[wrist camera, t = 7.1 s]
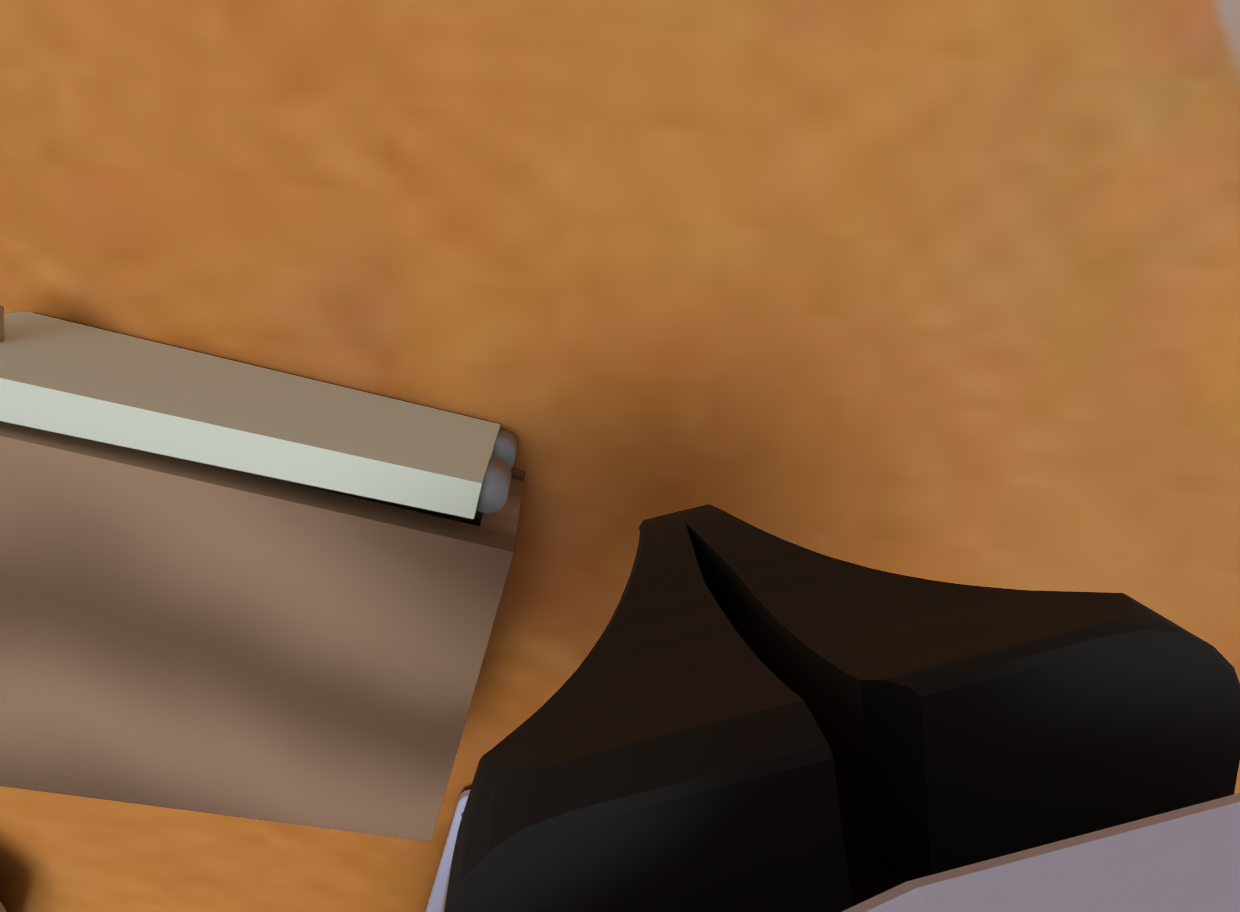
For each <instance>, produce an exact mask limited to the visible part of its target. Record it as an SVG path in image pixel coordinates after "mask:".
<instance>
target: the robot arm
mask: <svg viewBox="0 0 1240 912" xmlns="http://www.w3.org/2000/svg"><path fill="white" fill-rule="evenodd" d="M639 530H640V538H639V545H638V550H637V554H636V558H635V561H634V565H633V568H632V571H631V575H630V577H629V580H628V583H627V585H626V587H625V590H624V592H623V595H622V597H621V600H620V602H619V604H618V606H617V608H616V610H615V612H614V614H613V616H612V618H611V620H610V622H609V624H608V625H607V627H606V629H605V630H604V632H603V634H602V635H601V637H600V639H599V640H598V642H597V643H596V645H595V646H594V647H593V649H592V650H591V652H590V653H589V655H588V656H587V657H586V659H585V660H584V661H583V663H582V664H581V665H580V667H579V668H578V669H577V670H576V671H575V673H574V674H573V675H572V676H571V677H570V678H569V679H568V680H567V681H566V683H565V684H564V685H563V686H562V687H561V688H560V689H559V690H558V691H557V692H556V693H555V694H554V695H553V696H552V697H551V698H550V699H549V700H548V701H547V702H546V703H545V704H544V705H543V706H542V707H541V708H540V709H539V710H538V711H537V712H536V713H534V714H533V715H532V716H531V717H530V718H529V719H528V720H526V721H525V722H524V723H523V724H522V725H520V726H519V727H518V728H517V729H516V730H514V731H513V732H512V733H511V734H510V735H508V736H507V737H506V738H505V739H504V740H502V741H501V742H500V743H499V744H498V745H496V746H495V747H494V748H493V749H491V750H490V751H489V752H487V753H486V754H485V755H483V756H482V757H481V759H480V761H479V764H478V767H477V770H476V773H475V776H474V780H473V783H472V786H471V789H469V790H466V791H464V792H462V793H461V795H460V796H459V799H458V803H457V806H456V810H455V813H454V816H453V820H452V823H451V826H450V830H449V833H448V836H447V840H446V843H445V847H444V850H443V853H442V857H441V860H440V863H439V867H438V870H437V874H436V877H435V880H434V884H433V887H432V890H431V894H430V897H429V901H428V904H427V907H426V911H425V912H1240V793H1238V794H1234V790H1235V784H1236V778H1237V772H1238V766H1239V760H1240V683H1239V680H1238V677H1237V675H1236V672H1235V669H1234V667H1233V666H1232V665H1231V664H1230V663H1229V662H1228V661H1227V660H1226V659H1225V658H1224V657H1223V656H1222V655H1221V654H1220V653H1219V652H1218V651H1217V650H1216V649H1215V648H1214V647H1213V646H1212V645H1210V644H1208V643H1207V642H1205V641H1203V640H1202V639H1200V638H1198V637H1197V636H1195V635H1193V634H1191V633H1190V632H1188V631H1186V630H1185V629H1183V628H1181V627H1180V626H1178V625H1176V624H1175V623H1173V622H1171V621H1169V620H1168V619H1166V618H1164V617H1163V616H1161V615H1159V614H1158V613H1156V612H1154V611H1153V610H1151V609H1149V608H1147V607H1146V606H1144V605H1142V604H1141V603H1139V602H1137V601H1136V600H1134V599H1132V598H1131V597H1129V596H1127V595H1125V594H1123V593H1097V592H1062V591H1027V590H1013V589H1002V588H991V587H981V586H970V585H962V584H954V583H946V582H939V581H932V580H927V579H921V578H916V577H910V576H904V575H899V574H893V573H889V572H884V571H880V570H875V569H871V568H867V567H863V566H860V565H856V564H853V563H849V562H845V561H842V560H838V559H834V558H831V557H828V556H825V555H822V554H819V553H816V552H814V551H811V550H808V549H806V548H803V547H800V546H798V545H795V544H793V543H790V542H788V541H785V540H783V539H780V538H778V537H776V536H773V535H771V534H769V533H767V532H765V531H763V530H760V529H758V528H756V527H754V526H752V525H750V524H748V523H746V522H744V521H742V520H740V519H738V518H736V517H734V516H732V515H730V514H728V513H726V512H724V511H722V510H720V509H718V508H716V507H714V506H712V505H709V504H708V505H704V506H700V507H696V508H691V509H687V510H683V511H679V512H675V513H671V514H667V515H663V516H659V517H655V518H651V519H646V520H644V521H643V522H642V524H641V525H640V526H639Z"/></svg>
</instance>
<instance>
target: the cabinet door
mask: <svg viewBox="0 0 1240 912" xmlns="http://www.w3.org/2000/svg"><path fill="white" fill-rule="evenodd" d="M0 421H3V422H8V423H12V424H17V425H22V426H27V427H32V428H36V429H41V430H46V431H51V432H56V433H61V434H65V435H70V436H75V437H80V438H85V439H89V440H94V441H99V442H104V443H109V444H114V445H118V446H123V447H128V448H133V449H138V450H142V451H147V452H152V453H157V454H162V455H167V456H171V457H176V458H181V459H186V460H191V461H195V462H200V463H205V464H210V465H215V466H220V467H224V468H229V469H234V470H239V471H244V472H248V473H253V474H258V475H263V476H268V477H273V478H277V479H282V480H287V481H292V482H297V483H301V484H306V485H311V486H316V487H321V488H325V489H330V490H335V491H340V492H345V493H350V494H354V495H359V496H364V497H369V498H374V499H378V500H383V501H388V502H393V503H398V504H403V505H407V506H412V507H417V508H422V509H427V510H431V511H436V512H441V513H446V514H451V515H456V516H460V517H465V518H470V519H474V516H475V513H476V510H478V511H480V512H482V513H494V512H497V511H499V510H500V509H501V508H502V507H503V506H504V505H505V503H506V501H507V496H508V491H509V486H510V481H511V468H512V467H513V465H514V460H515V455H516V450H517V439H516V437H515V436H514V435H513V434H512V433H511V432H510V431H508V430H504V429H500V425H501V424H497V423H493V422H489V421H485V420H480V419H476V418H472V417H468V416H464V415H459V414H455V413H451V412H447V411H443V410H438V409H434V408H430V407H426V406H422V405H417V404H413V403H409V402H405V401H401V400H396V399H392V398H388V397H384V396H380V395H375V394H371V393H367V392H363V391H359V390H354V389H350V388H346V387H342V386H338V385H333V384H329V383H325V382H321V381H317V380H312V379H308V378H304V377H300V376H296V375H292V374H287V373H283V372H279V371H275V370H271V369H266V368H262V367H258V366H254V365H250V364H245V363H241V362H237V361H233V360H229V359H224V358H220V357H216V356H212V355H208V354H203V353H199V352H195V351H191V350H187V349H182V348H178V347H174V346H170V345H166V344H161V343H157V342H153V341H149V340H145V339H140V338H136V337H132V336H128V335H124V334H119V333H115V332H111V331H107V330H103V329H98V328H94V327H90V326H86V325H82V324H77V323H73V322H69V321H65V320H61V319H56V318H52V317H48V316H44V315H40V314H35V313H31V312H27V311H23V312H14V313H4V307H3V306H1V305H0ZM499 429H500V430H499Z"/></svg>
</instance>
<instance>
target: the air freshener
mask: <svg viewBox="0 0 1240 912" xmlns="http://www.w3.org/2000/svg"><path fill="white" fill-rule="evenodd" d="M0 912H6V910H5V908H4V906H3V905H2V903H1V902H0Z"/></svg>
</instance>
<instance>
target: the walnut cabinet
mask: <svg viewBox="0 0 1240 912" xmlns="http://www.w3.org/2000/svg"><path fill="white" fill-rule="evenodd" d="M524 475H525V472H524V471H520V470H516V469H512V468H511V481H510V486H509V491H508V496H507V501H506V503H505V505H504V506H503V507H502V508H501V509H500V510H499V511H497V512H494V513H482V512H480V511H478V510H476V513H475V516H474V519H470V518H465V517H460V516H456V515H451V514H446V513H441V512H436V511H431V510H427V509H422V508H417V507H412V506H407V505H403V504H398V503H393V502H388V501H383V500H378V499H374V498H369V497H364V496H359V495H354V494H350V493H345V492H340V491H335V490H330V489H325V488H321V487H316V486H311V485H306V484H301V483H297V482H292V481H287V480H282V479H277V478H273V477H268V476H263V475H258V474H253V473H248V472H244V471H239V470H234V469H229V468H224V467H220V466H215V465H210V464H205V463H200V462H195V461H191V460H186V459H181V458H176V457H171V456H167V455H162V454H157V453H152V452H147V451H142V450H138V449H133V448H128V447H123V446H118V445H114V444H109V443H104V442H99V441H94V440H89V439H85V438H80V437H75V436H70V435H65V434H61V433H56V432H51V431H46V430H41V429H36V428H32V427H27V426H22V425H17V424H12V423H8V422H3V421H0V786H5V787H13V788H20V789H28V790H36V791H43V792H51V793H59V794H67V795H74V796H82V797H90V798H97V799H105V800H113V801H120V802H128V803H136V804H143V805H151V806H159V807H166V808H174V809H182V810H189V811H197V812H205V813H213V814H220V815H228V816H236V817H243V818H251V819H259V820H266V821H274V822H282V823H289V824H297V825H305V826H312V827H320V828H328V829H336V830H343V831H351V832H359V833H366V834H374V835H382V836H389V837H397V838H405V839H412V840H420V841H428V842H431V840H432V836H433V833H434V829H435V826H436V822H437V819H438V815H439V812H440V808H441V805H442V801H443V798H444V794H445V791H446V787H447V784H448V780H449V777H450V773H451V770H452V766H453V763H454V759H455V756H456V753H457V749H458V746H459V742H460V739H461V735H462V732H463V728H464V725H465V721H466V718H467V714H468V711H469V707H470V704H471V700H472V697H473V693H474V690H475V686H476V683H477V679H478V676H479V672H480V669H481V665H482V662H483V658H484V655H485V651H486V648H487V645H488V641H489V638H490V634H491V631H492V627H493V624H494V620H495V617H496V613H497V610H498V606H499V603H500V599H501V596H502V592H503V589H504V585H505V582H506V578H507V575H508V571H509V568H510V564H511V561H512V557H513V554H514V548H515V541H516V534H517V526H518V519H519V512H520V505H521V497H522V490H523V483H524Z"/></svg>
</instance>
